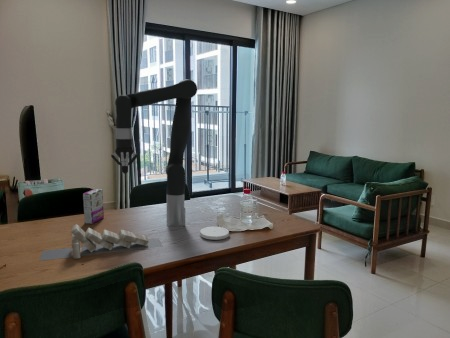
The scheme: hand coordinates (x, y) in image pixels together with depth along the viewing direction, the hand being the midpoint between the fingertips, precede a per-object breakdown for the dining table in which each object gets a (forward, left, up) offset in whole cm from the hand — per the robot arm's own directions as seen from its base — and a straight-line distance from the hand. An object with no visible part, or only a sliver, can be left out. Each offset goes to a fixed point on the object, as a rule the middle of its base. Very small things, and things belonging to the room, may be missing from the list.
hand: (124, 173), depth 164 cm
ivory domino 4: (-7, +23, -27) cm, 36 cm away
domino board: (+11, +23, -29) cm, 39 cm away
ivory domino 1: (+15, +23, -27) cm, 39 cm away
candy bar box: (+15, -20, -29) cm, 38 cm away
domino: (+22, +19, -25) cm, 38 cm away
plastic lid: (-40, +20, -30) cm, 54 cm away
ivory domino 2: (+8, +23, -27) cm, 36 cm away
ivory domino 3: (0, +23, -27) cm, 35 cm away
